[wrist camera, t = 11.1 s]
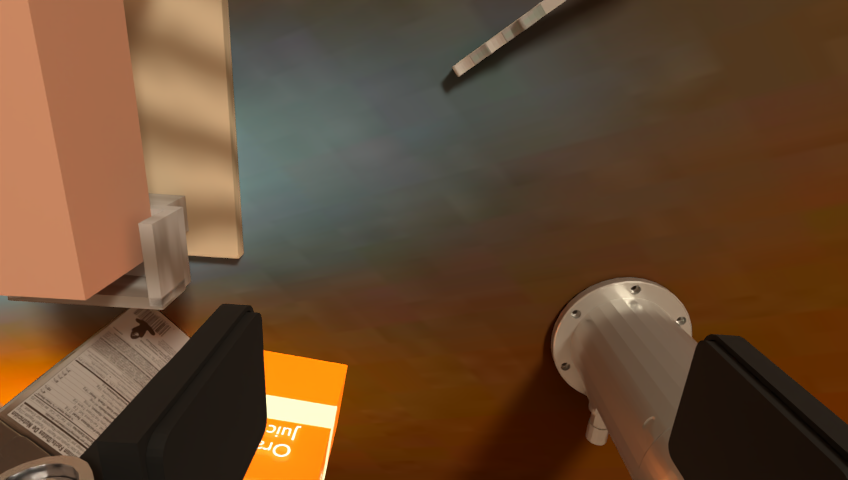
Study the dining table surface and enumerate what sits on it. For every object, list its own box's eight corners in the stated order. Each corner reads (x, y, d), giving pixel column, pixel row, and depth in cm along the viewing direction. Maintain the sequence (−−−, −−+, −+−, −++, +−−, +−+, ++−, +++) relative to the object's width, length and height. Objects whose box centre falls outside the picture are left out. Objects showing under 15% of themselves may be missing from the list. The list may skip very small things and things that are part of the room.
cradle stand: (243, 253, 41) (175, 321, 30) (116, 245, 41) (0, 310, 30) (215, -204, 31) (92, -366, 19) (43, -219, 30) (-184, -392, 19)
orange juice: (337, 427, 48) (280, 659, 29) (249, 413, 47) (133, 640, 28) (348, 363, 45) (294, 571, 26) (256, 347, 45) (133, 548, 26)
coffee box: (133, 391, 46) (-8, 546, 31) (80, 348, 45) (-97, 489, 29) (196, 340, 44) (78, 479, 29) (143, 292, 43) (-12, 414, 28)
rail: (156, 252, 32) (85, 300, 25) (65, 247, 32) (-29, 293, 25) (94, -218, 23) (-37, -333, 17) (-29, -228, 23) (-210, -348, 17)
